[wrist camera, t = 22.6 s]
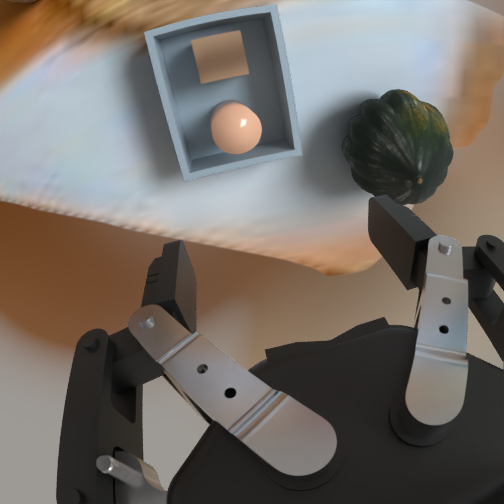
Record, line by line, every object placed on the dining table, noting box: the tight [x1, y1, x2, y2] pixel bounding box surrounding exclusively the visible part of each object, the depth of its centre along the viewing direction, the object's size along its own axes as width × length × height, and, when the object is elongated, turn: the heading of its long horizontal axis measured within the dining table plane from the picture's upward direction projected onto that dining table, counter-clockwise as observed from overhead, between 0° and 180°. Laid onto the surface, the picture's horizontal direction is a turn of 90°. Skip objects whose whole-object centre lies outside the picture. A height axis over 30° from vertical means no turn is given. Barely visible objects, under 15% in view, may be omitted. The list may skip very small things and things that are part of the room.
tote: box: [144, 5, 302, 181], centre depth 31 cm, size 18×14×6 cm
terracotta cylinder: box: [210, 100, 262, 154], centre depth 32 cm, size 5×5×7 cm
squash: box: [342, 89, 453, 205], centre depth 34 cm, size 14×15×15 cm
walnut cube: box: [191, 30, 249, 84], centre depth 28 cm, size 5×5×5 cm
